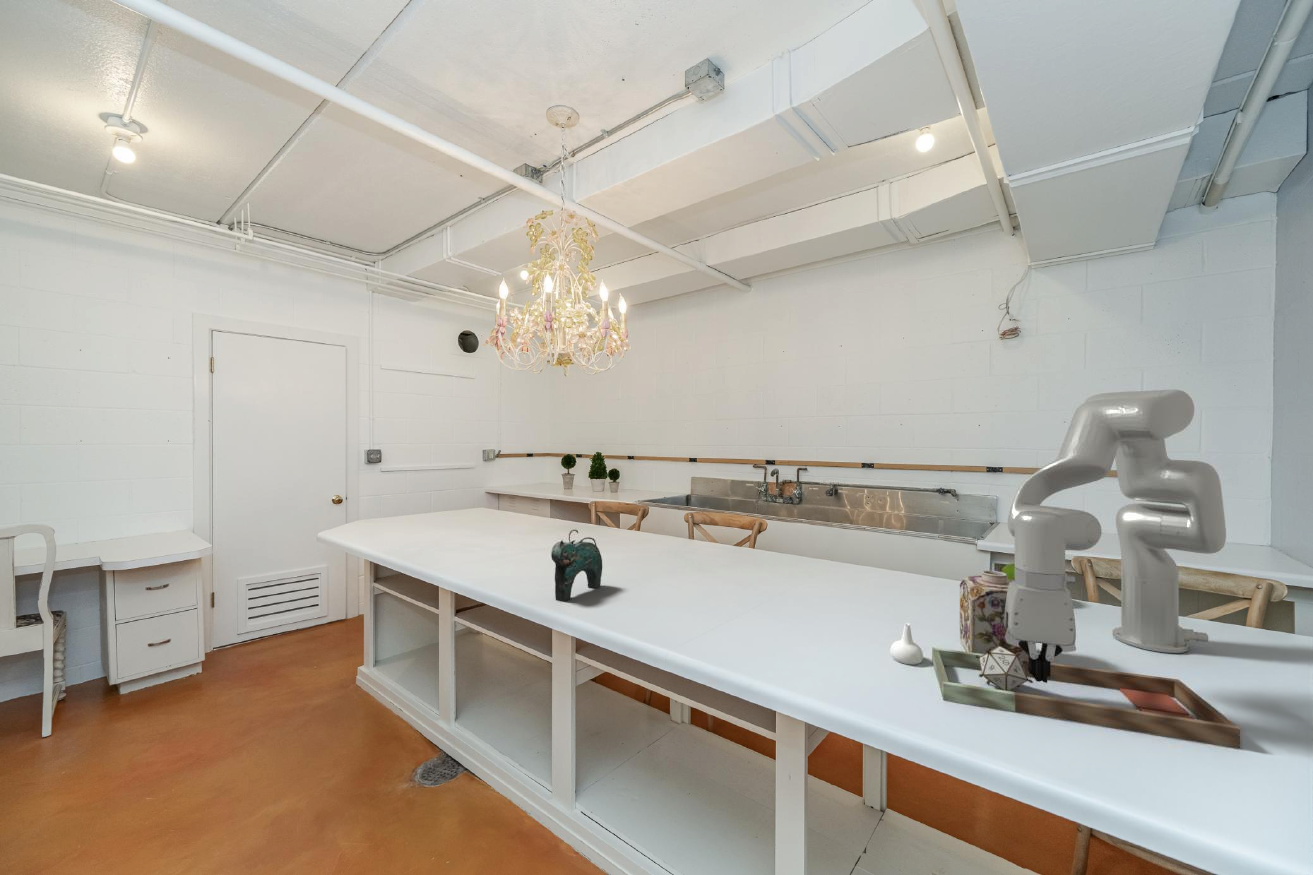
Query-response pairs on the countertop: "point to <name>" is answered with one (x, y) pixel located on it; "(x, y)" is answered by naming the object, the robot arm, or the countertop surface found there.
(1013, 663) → the game die
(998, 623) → the decorative jar
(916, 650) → the garlic bulb
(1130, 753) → the countertop surface
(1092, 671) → the rectangular wooden frame
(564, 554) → the teal animal figurine
